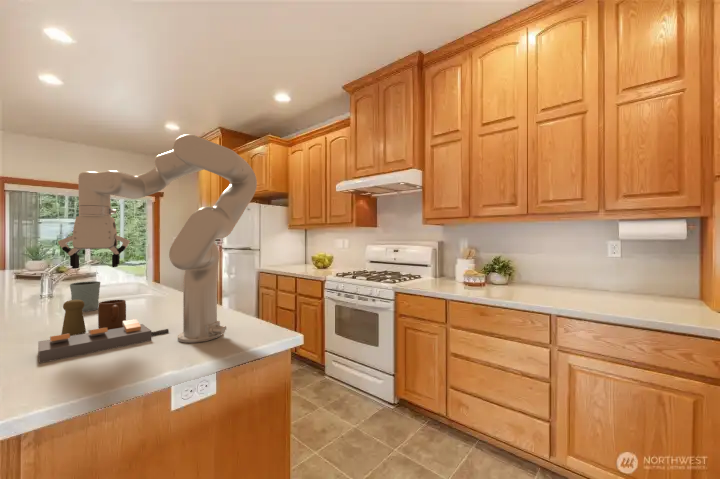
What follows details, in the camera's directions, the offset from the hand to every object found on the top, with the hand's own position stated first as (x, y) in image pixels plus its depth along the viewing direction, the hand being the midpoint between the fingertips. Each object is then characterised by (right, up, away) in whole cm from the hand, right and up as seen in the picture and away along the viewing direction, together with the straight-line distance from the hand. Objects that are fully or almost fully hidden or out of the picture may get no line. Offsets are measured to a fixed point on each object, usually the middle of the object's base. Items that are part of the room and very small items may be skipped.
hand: (95, 267), depth 96 cm
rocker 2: (+11, -19, 0) cm, 22 cm away
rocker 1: (0, -19, -12) cm, 22 cm away
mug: (-3, -23, +10) cm, 25 cm away
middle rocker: (+6, -19, -6) cm, 20 cm away
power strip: (+8, -22, -4) cm, 24 cm away
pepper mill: (-13, -23, +7) cm, 27 cm away
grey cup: (-39, -23, +40) cm, 61 cm away
